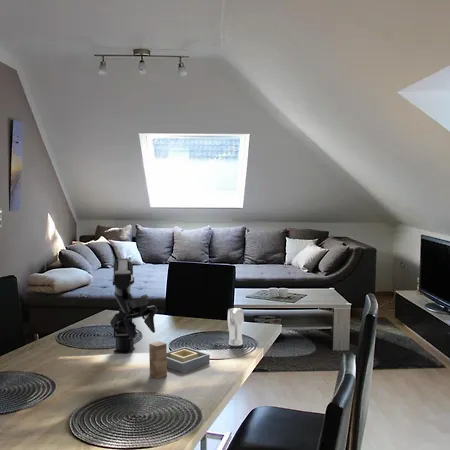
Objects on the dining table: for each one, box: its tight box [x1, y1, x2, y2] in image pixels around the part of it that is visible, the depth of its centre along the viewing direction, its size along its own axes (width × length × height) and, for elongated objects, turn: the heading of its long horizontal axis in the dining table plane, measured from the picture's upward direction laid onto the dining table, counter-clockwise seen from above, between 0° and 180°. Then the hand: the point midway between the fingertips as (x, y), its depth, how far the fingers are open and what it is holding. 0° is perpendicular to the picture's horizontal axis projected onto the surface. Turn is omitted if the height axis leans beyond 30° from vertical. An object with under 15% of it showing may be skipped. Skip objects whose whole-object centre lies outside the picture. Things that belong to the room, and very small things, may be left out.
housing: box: [167, 346, 211, 374], centre depth 211 cm, size 14×14×4 cm
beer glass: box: [227, 307, 245, 347], centre depth 234 cm, size 7×7×15 cm
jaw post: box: [148, 340, 168, 380], centre depth 198 cm, size 4×4×12 cm
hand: (144, 334), depth 203 cm, fingers open, 9 cm apart
